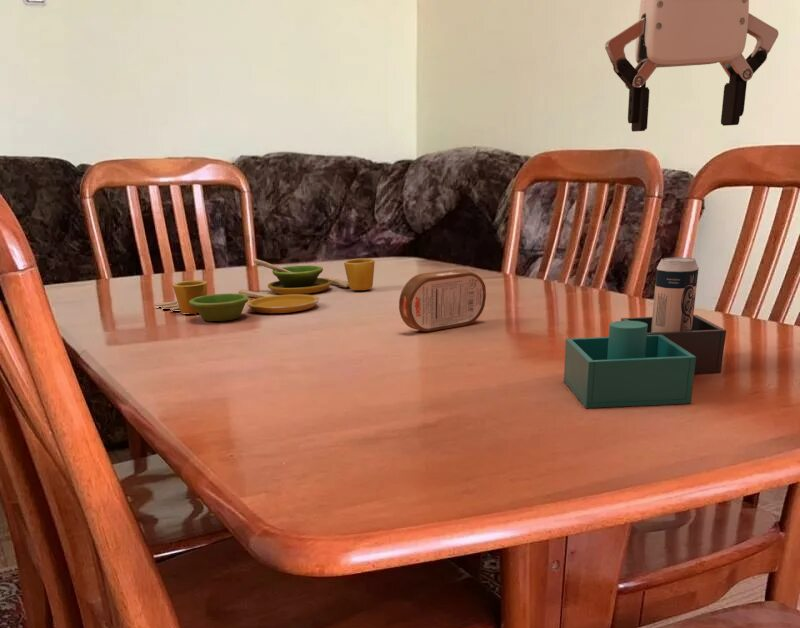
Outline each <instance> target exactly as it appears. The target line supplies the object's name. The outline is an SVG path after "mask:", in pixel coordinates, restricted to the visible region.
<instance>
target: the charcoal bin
mask: <svg viewBox="0 0 800 628" xmlns="http://www.w3.org/2000/svg"><path fill="white" fill-rule="evenodd" d="M620 321H640V322H644V323H647V324H648V327H647V335H660V334H662V335H663V336H665V337H666V338H668V339H669V340H671V341H673V342H674V343H676V344H677V345H679V346H680V347H682V348H683V349H685V350H686V351H688V352H689V353H691V354H692V355H694V356H695V357H696V362H695V371H694V375H696V374H697V375H699V374H715V373H716V374H718V373H722V367H723V360H724V359H723V357H724V352H725V351H724V350H725V343H726V337H727V330H726V329H725V328H722V327H721V326H719V325H717V324H715V323H713V322H711V321H709V320H707V319H706V318H703V317H702V316H700V315H698V314H693V323H692V331H678V332H656V333H651V327H652V316H641V317H621V318H620Z"/></svg>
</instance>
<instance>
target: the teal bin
mask: <svg viewBox="0 0 800 628" xmlns="http://www.w3.org/2000/svg"><path fill="white" fill-rule="evenodd" d="M608 339H609V336H599V337H598V336H594V337H573V338H572V337H571V338H565V345H564V347H565V348H564V368H563V369H564V370H563V382H564V383H565V384H566V385H567V387H568V388H569V389H570V390H571V391H572V393H573V395H575V396H576V398H577V399H578V400H579V402H580V403H581V404H582V405H583V407H584V408H585V409H600V408H621V407H623V408H624V407H641V406H642V407H645V406H646V407H647V406H664V405H665V406H667V405H669V406H670V405H688V404H691V403H692V395H693V387H694V378H695V374H694V371H695V362H696V357H695V356H694V355H692V354H691V353H689V352H688V351H686V350H685V349H683V348H682V347H680V346H679V345H677V344H676V343H674V342H673V341H671V340H669V339H668V338H666V337H665V336H663V335H662V334H660V335H647V338H646V349H645V358H632V359H610V360H607V354H608Z"/></svg>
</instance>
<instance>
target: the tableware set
mask: <svg viewBox="0 0 800 628" xmlns="http://www.w3.org/2000/svg"><path fill="white" fill-rule="evenodd" d="M253 263H254V264H256V265H258V266H262V267H264V268H268V269H270V270H272V271H271V272H272V274H273V275H274V277H276V278H277V280H275V281H271V282H270V283H267V288H268V289H269V290H270V291H271V292H272V293H274V294H271V293H266V292H261V291H255V292H254V291H252V290H248V289H239V290H238V292H237V293H233V292H232V293H217V294H216V293H214V294H208V281H207V280H199V279H198V280H184V281H177V282H175V283H173V284H172V288H173V291H174V295H175V298H176V300H173V301H163V302H157V303H155V304H154V306H162V307H161V308H160V309H162V308H170V310H172V311H173V310H180V313H181V314H182V313H189V314H194V315H199V316H200V317H201V319H202V320H203V321H205V320H206V321H205V322H212V321H220V322H227V321H228V320H229V321H234V320H237V319H239V318H240V317H241V316H242V312H243V311H244V308H245V305H246V306H247V307H249V308H250V309H251V310H252V311H253V312H257V313H262V314H285V313H296V312H302V311H307V310H309V309H313V308H315V306H316V305H317V303H318V302H319V300H320V298H319V297H318V296H316V295H313V294H314V293H319V292H324V291H326V290H328V289H329V287H330V285H337V286H338V287H341V288H348V287H349V289H350V290H352V291H366V290H371V289H372V288H373V286H374V274H375V263H376V261H375V259H373V258H353V259H347V260H345V261H344V262H343V266H344V269H345V274H346V279H347V280H340V279H336V278H332V277H327V276H321V277H320V275H321V274H322V273H323V271H324V268H323V267H322V266H319V265H291V266H282V267H280V266H278V265H275V264H273V263H270V262H267V261H264V260H261V259H258V258H254V259H253ZM275 294H276V295H275ZM250 297H251V298H254V299H251V300H249V299H250ZM177 303H178V304H177ZM171 304H174V305H171ZM165 305H166V306H165ZM173 307H174V308H173ZM170 310H169V311H170ZM197 313H199V314H197Z"/></svg>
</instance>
